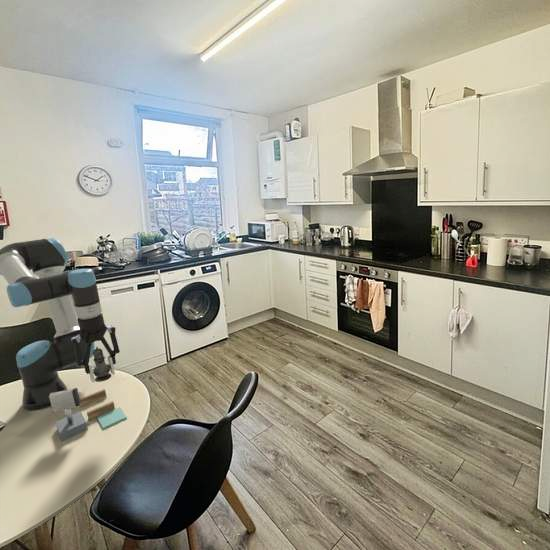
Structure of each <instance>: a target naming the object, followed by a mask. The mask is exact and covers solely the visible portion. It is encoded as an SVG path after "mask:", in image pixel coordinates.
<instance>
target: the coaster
mask: <svg viewBox="0 0 550 550" xmlns="http://www.w3.org/2000/svg"><path fill="white" fill-rule="evenodd" d="M127 417H128V416H127V415H126V414H125V412H124V411H123V409H121V407H120V406H119V407H117V408H116V407H115V409H114V410H112V411H110V412H107V413H105V414H103V415H100V416H98V417H96V419H97V421H98V423H99V425H100V426H101V428H102V430H104V429H107V428H110V427H112V426H113V425H116V424H118V423H120V422H122V421H124V420H127V419H128V418H127Z"/></svg>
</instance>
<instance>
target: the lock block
mask: <svg viewBox="0 0 550 550" xmlns="http://www.w3.org/2000/svg"><path fill="white" fill-rule="evenodd" d="M72 416H73V421H72V422H67V418H66V417H65V418H61V419H59V420H57V421H55V426H56V428H57V429H56V430H57V432H58V434H59V437H60V440H61V442H63V441H65V440H68V439H70V438H72V437H73V436H74V437H75V436H77V435H79V434H80V433H83V432H85V431H87V430H88V429H89V428H88V425H87V420H86V419H85V416H84V415H83V413H82V411H78V412H76V413H74V414H72Z"/></svg>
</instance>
